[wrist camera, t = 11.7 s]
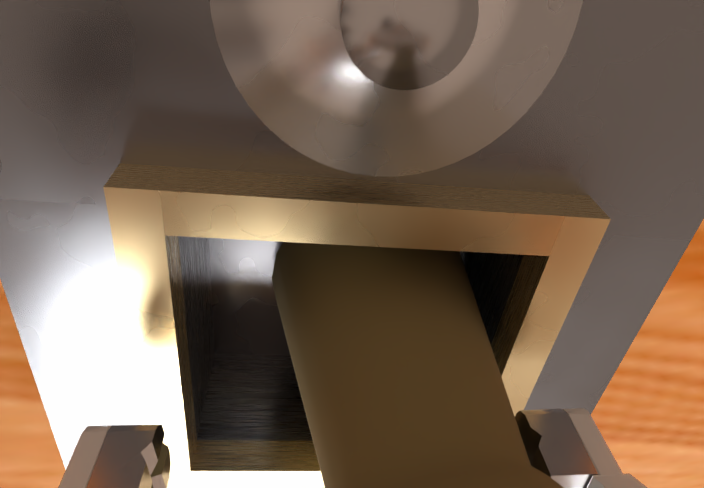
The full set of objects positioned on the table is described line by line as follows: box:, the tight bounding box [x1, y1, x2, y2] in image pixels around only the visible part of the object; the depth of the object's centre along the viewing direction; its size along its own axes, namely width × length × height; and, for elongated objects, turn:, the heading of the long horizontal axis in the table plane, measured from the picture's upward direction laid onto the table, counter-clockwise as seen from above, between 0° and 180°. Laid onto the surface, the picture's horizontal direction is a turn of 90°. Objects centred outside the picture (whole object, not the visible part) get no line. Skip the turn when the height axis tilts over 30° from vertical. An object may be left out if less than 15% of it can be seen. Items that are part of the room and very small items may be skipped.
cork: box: [272, 242, 564, 488], centre depth 12 cm, size 6×6×11 cm
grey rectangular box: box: [0, 0, 704, 488], centre depth 13 cm, size 18×16×6 cm
